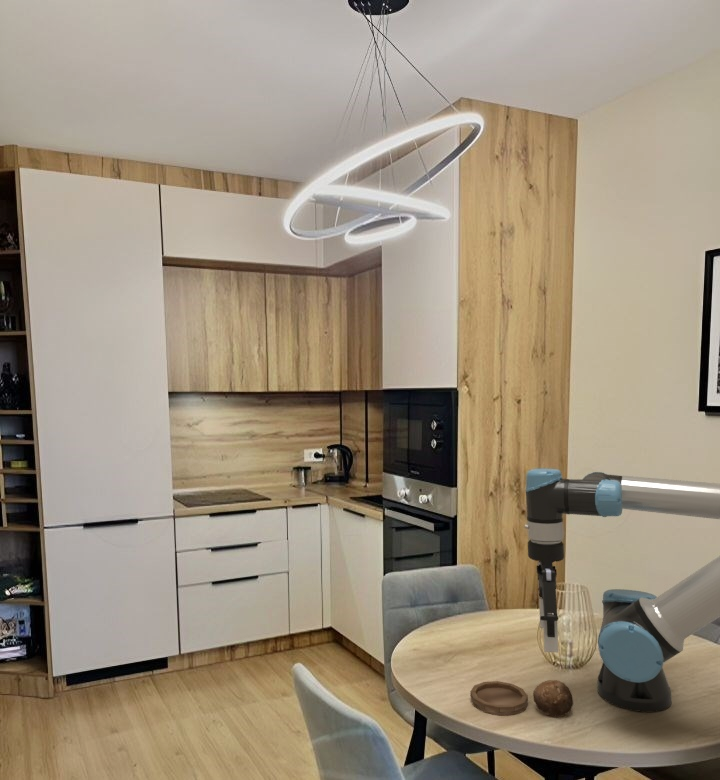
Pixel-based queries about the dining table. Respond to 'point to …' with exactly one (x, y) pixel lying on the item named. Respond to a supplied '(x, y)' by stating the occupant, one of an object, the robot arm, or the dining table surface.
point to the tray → (499, 698)
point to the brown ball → (553, 698)
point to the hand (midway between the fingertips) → (548, 639)
